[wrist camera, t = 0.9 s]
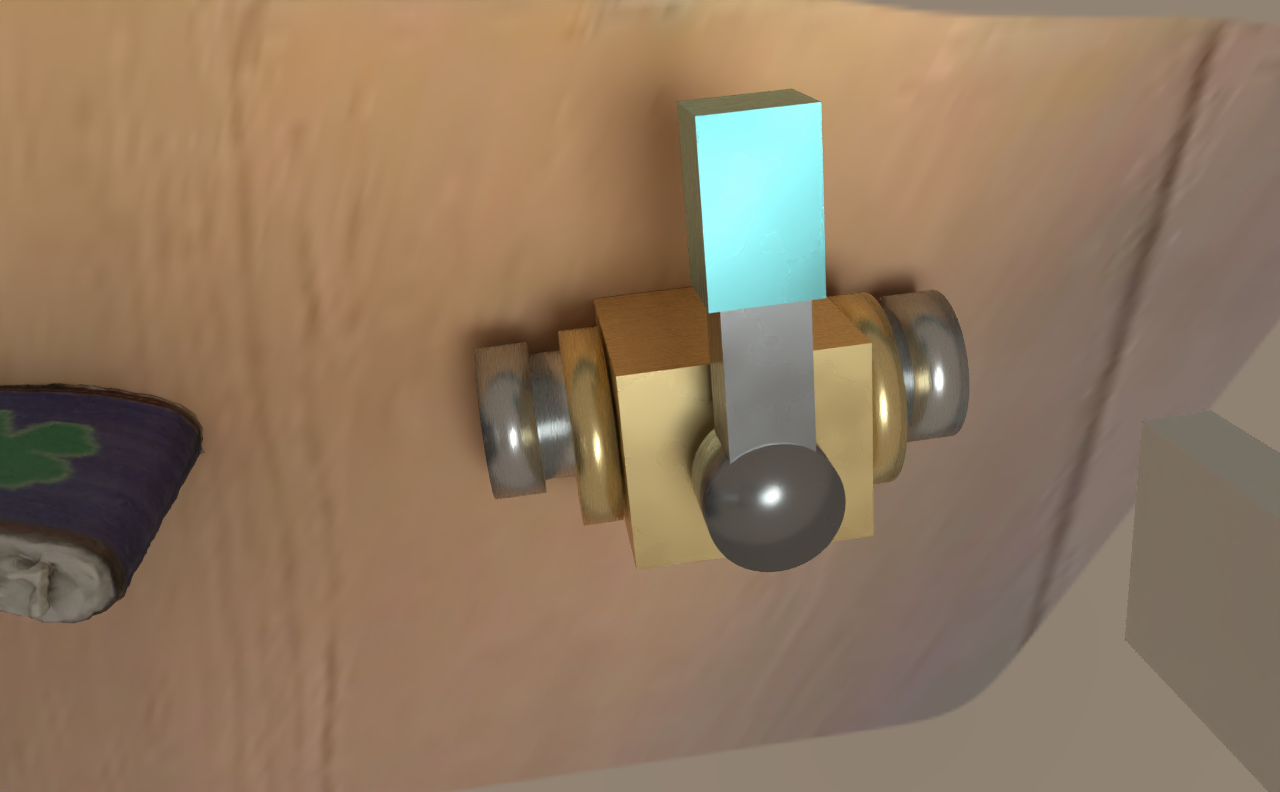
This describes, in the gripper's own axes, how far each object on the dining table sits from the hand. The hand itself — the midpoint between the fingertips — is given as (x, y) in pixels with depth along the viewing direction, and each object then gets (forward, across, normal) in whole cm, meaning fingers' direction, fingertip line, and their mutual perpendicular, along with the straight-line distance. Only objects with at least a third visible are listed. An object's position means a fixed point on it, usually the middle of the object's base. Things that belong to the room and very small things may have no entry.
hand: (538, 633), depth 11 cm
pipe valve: (+24, +6, -7) cm, 26 cm away
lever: (+17, +6, -3) cm, 18 cm away
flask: (+25, -15, -6) cm, 30 cm away
